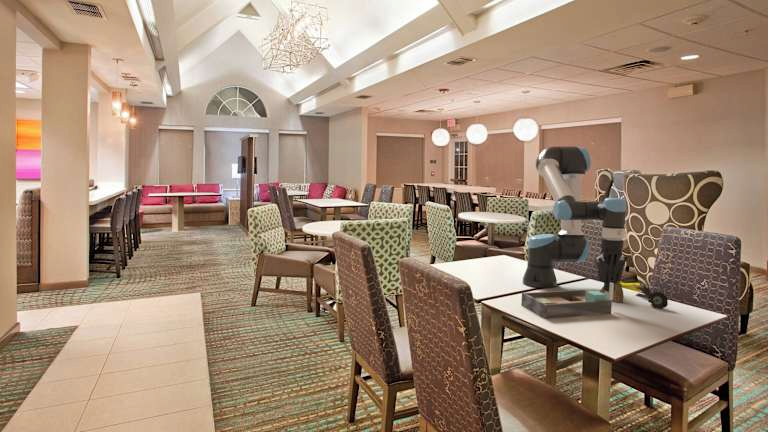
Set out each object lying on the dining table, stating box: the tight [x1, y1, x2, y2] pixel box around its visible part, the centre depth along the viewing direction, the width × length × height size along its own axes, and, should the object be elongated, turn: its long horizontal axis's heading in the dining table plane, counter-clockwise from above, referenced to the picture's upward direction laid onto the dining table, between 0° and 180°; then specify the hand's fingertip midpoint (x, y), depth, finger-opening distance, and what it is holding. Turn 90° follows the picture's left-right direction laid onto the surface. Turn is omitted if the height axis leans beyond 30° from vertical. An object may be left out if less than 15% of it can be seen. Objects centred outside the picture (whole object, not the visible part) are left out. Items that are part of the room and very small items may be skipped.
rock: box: [599, 280, 625, 303], centre depth 188 cm, size 11×9×10 cm
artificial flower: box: [632, 278, 669, 309], centre depth 187 cm, size 9×22×10 cm, turn 159°
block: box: [585, 290, 607, 302], centre depth 172 cm, size 5×5×4 cm
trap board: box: [520, 289, 613, 319], centre depth 173 cm, size 16×28×5 cm, turn 103°
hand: (608, 299), depth 173 cm, fingers closed
